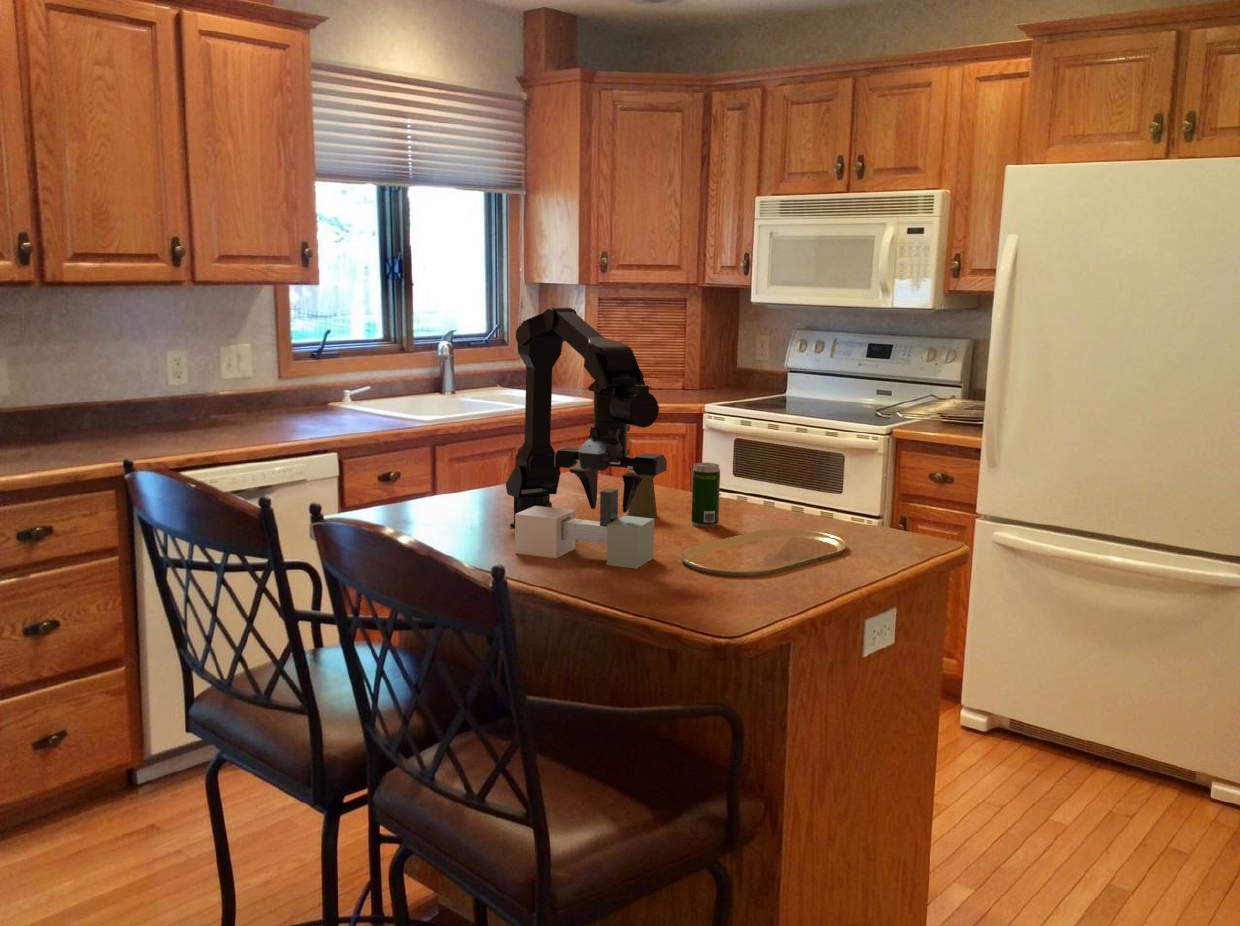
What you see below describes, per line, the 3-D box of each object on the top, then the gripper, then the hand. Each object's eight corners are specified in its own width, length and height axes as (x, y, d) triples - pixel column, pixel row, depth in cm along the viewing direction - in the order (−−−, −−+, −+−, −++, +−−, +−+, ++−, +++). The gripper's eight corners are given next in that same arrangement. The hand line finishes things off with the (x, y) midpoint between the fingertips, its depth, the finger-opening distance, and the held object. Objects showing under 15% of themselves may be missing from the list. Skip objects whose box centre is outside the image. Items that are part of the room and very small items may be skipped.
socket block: (606, 564, 183) (607, 524, 181) (624, 554, 190) (624, 515, 188) (636, 568, 181) (637, 527, 179) (653, 558, 187) (654, 518, 186)
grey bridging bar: (553, 537, 188) (553, 486, 187) (560, 533, 191) (560, 483, 190) (632, 546, 183) (633, 494, 181) (639, 543, 186) (640, 491, 184)
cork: (654, 519, 217) (655, 465, 215) (625, 518, 218) (625, 464, 216) (659, 513, 223) (660, 460, 221) (630, 511, 224) (631, 459, 222)
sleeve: (515, 553, 189) (515, 514, 188) (535, 543, 196) (535, 505, 195) (556, 558, 186) (556, 518, 185) (575, 548, 193) (575, 510, 192)
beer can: (723, 526, 212) (725, 466, 210) (699, 528, 210) (701, 468, 207) (709, 520, 217) (711, 461, 215) (686, 523, 214) (687, 463, 212)
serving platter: (657, 562, 186) (658, 554, 186) (784, 532, 210) (785, 524, 210) (741, 586, 173) (741, 577, 172) (866, 551, 196) (867, 542, 196)
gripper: (539, 422, 179) (539, 514, 181) (644, 430, 172) (642, 525, 174) (568, 414, 189) (567, 501, 191) (668, 421, 182) (666, 512, 184)
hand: (609, 510), depth 185 cm, fingers open, 6 cm apart
